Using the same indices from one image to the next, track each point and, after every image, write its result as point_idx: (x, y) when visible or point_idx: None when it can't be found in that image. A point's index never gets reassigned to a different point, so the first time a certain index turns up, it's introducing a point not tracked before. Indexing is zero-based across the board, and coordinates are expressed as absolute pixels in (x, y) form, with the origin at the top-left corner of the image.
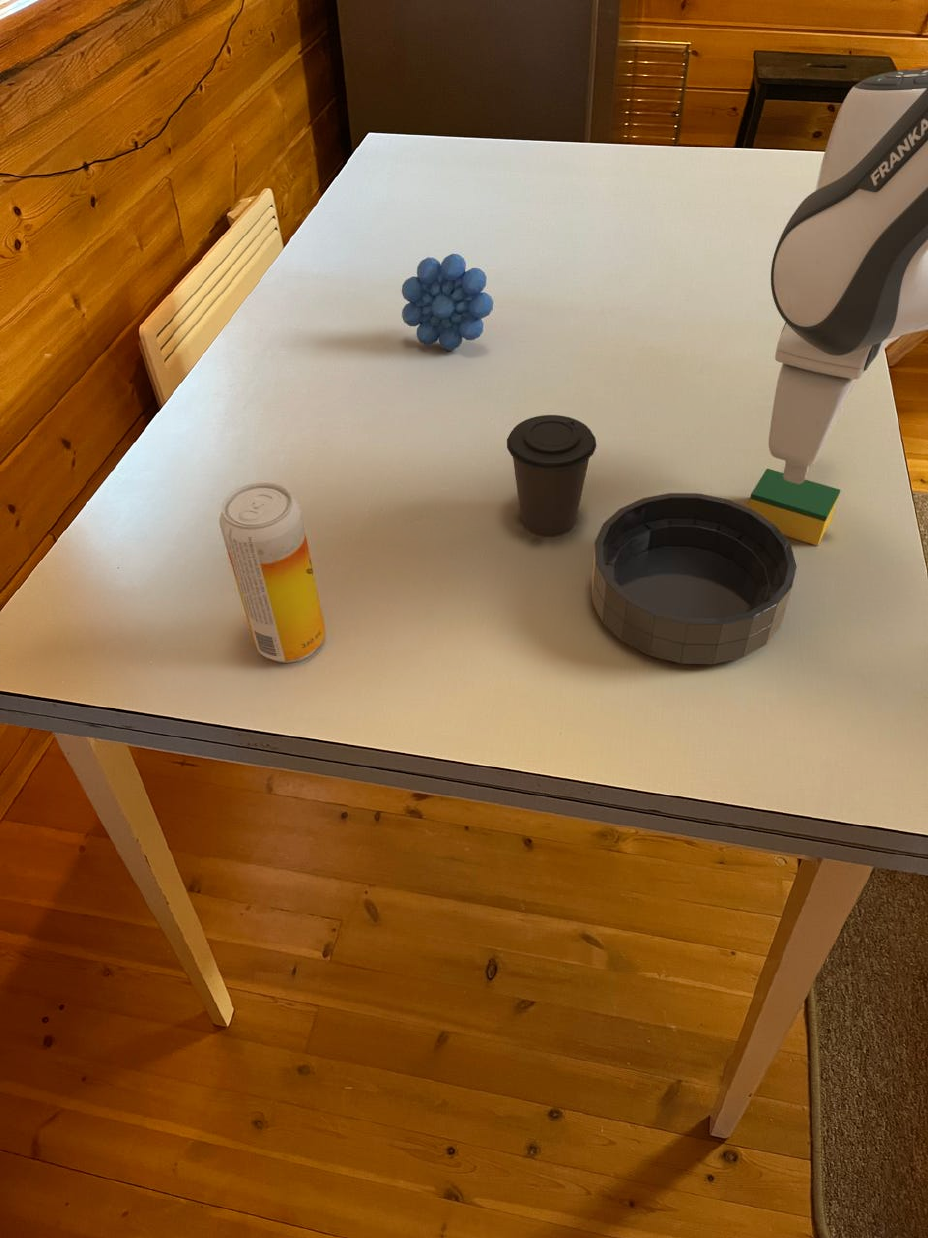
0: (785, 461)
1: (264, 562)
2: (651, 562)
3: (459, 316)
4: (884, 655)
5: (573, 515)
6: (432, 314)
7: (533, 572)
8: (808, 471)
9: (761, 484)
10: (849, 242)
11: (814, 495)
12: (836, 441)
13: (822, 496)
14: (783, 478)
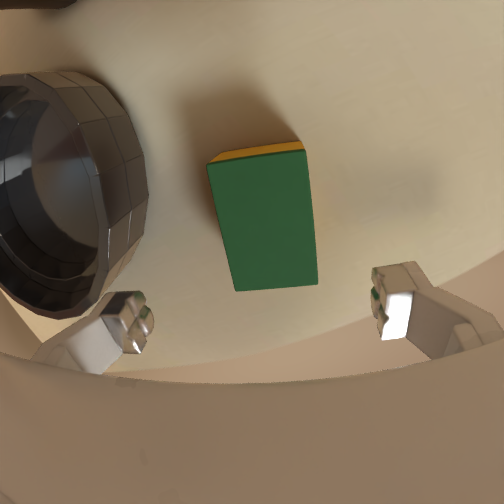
0: (79, 320)
1: None
2: (58, 119)
3: None
4: (148, 350)
5: (52, 4)
6: None
7: (9, 48)
8: (149, 331)
9: (246, 166)
10: None
11: (275, 258)
12: (485, 193)
13: (281, 269)
14: (108, 292)
